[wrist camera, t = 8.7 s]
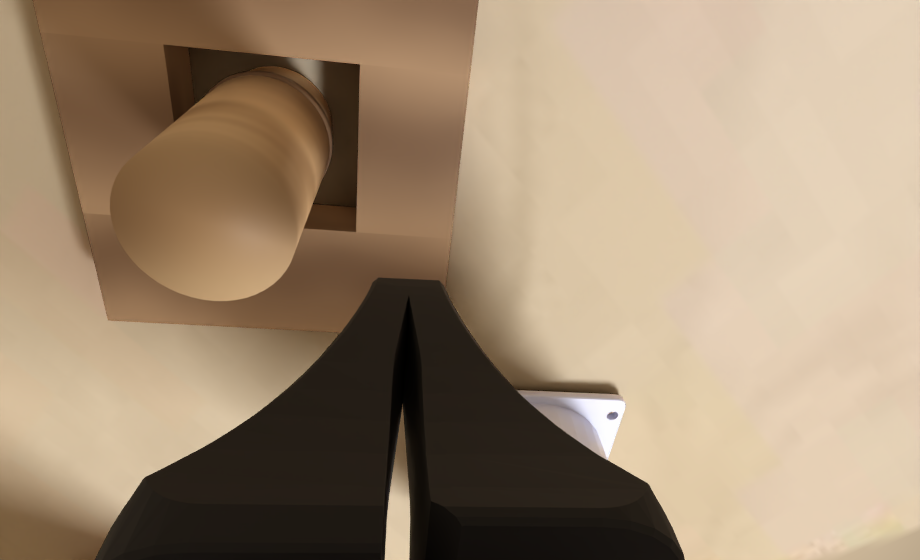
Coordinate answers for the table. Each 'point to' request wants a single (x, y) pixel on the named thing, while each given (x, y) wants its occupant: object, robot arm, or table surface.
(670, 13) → the table surface
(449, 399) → the robot arm
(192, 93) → the board
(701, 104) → the table surface
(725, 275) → the table surface
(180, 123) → the peg
